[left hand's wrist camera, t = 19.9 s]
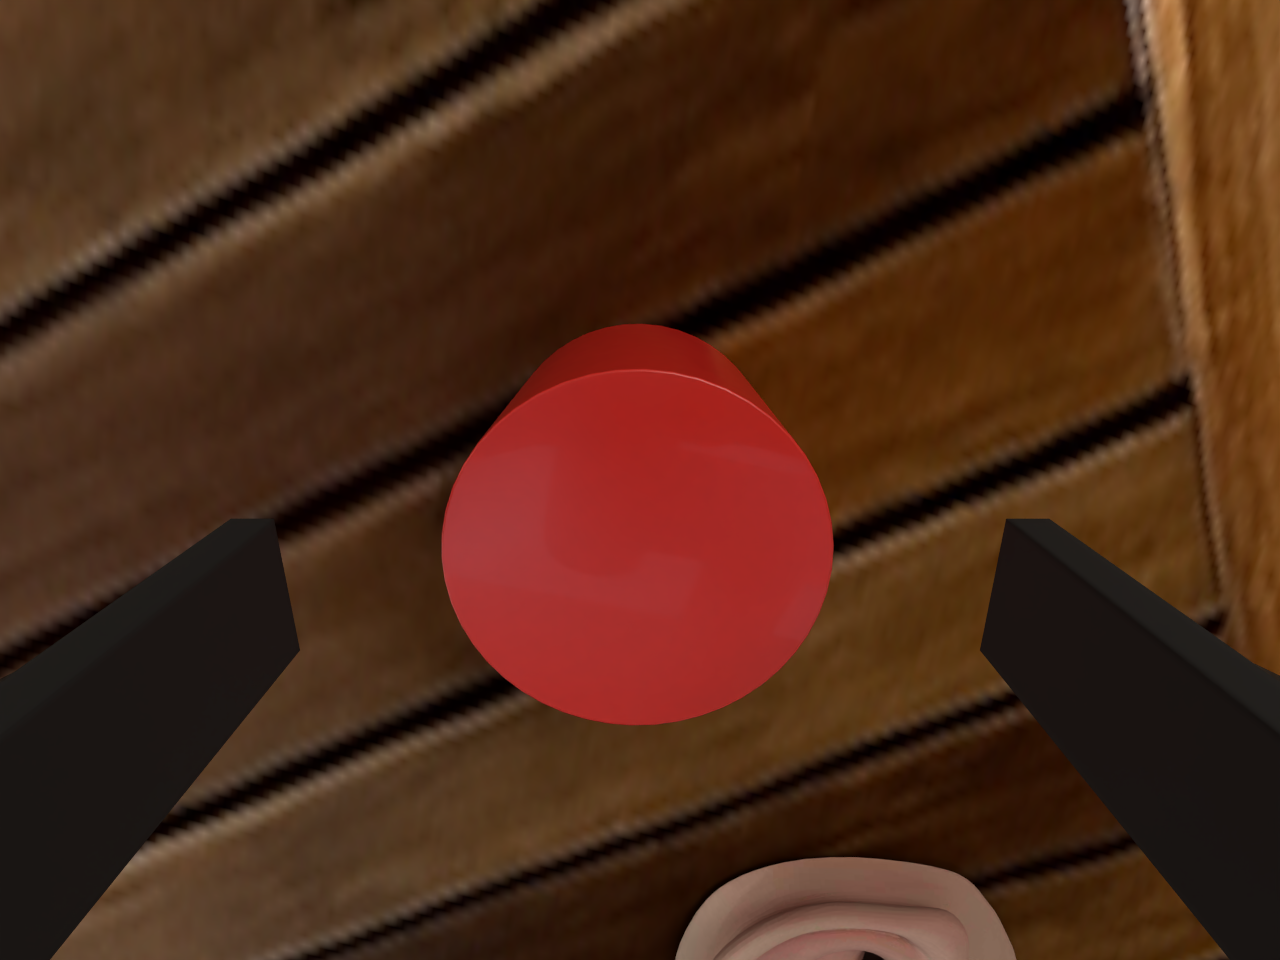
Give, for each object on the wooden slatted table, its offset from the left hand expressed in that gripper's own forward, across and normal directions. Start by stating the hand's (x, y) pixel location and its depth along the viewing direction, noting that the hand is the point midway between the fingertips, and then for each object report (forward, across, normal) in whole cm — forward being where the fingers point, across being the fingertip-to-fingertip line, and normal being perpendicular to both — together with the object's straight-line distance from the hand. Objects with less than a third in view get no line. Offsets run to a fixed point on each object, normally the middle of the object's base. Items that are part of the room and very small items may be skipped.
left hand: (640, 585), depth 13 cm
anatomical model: (+9, -8, +22) cm, 25 cm away
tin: (+9, 0, 0) cm, 9 cm away
